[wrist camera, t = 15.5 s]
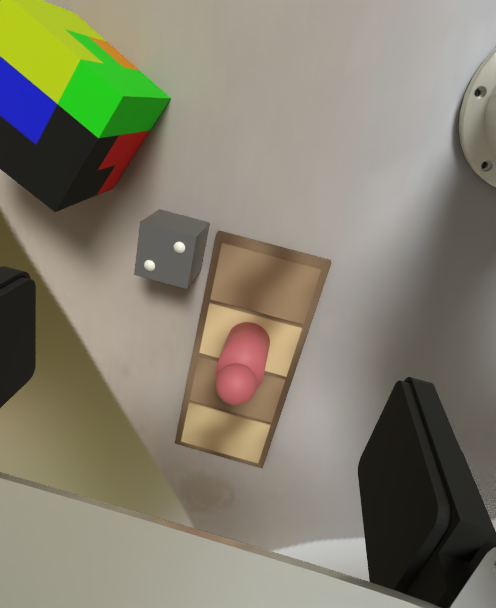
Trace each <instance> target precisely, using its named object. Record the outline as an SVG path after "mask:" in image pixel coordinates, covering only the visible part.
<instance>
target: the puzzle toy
mask: <svg viewBox="0 0 496 608" xmlns="http://www.w3.org/2000/svg"><path fill="white" fill-rule="evenodd" d="M170 99H171V98H170V97H169V96H168V95H167V94H165V93H164V92H163V91H162V90H161V89H160V88H159V87H157V86H156V85H155V84H154V83H153V82H152V81H151V80H150V79H148V78H147V77H146V76H145V75H144V74H143V73H142V72H141V71H139V70H138V69H137V68H136V67H135V66H134V65H133V64H131V63H130V62H129V61H128V60H127V59H126V58H125V57H124V56H122V55H121V54H120V53H119V52H118V51H117V50H116V49H115V48H113V47H112V46H111V45H110V44H109V43H108V42H107V41H105V40H104V39H103V38H102V37H101V36H100V35H99V34H98V33H96V32H95V31H94V30H93V29H92V28H91V27H90V26H89V25H87V24H86V23H85V22H84V21H83V20H82V19H81V18H80V17H78V16H77V15H76V14H75V13H74V12H71V11H69V10H66V9H64V8H61V7H58V6H56V5H53V4H50V3H48V2H45V1H43V0H0V169H1V170H2V171H4V172H5V173H6V174H7V175H9V176H10V177H11V178H12V179H14V180H15V181H16V182H18V183H19V184H20V185H21V186H23V187H24V188H25V189H26V190H28V191H29V192H30V193H32V194H33V195H34V196H35V197H37V198H38V199H39V200H40V201H42V202H43V203H44V204H46V205H47V206H48V207H49V208H51V209H52V210H53V211H54V212H56V211H59V210H61V209H64V208H66V207H69V206H71V205H74V204H76V203H79V202H81V201H83V200H86V199H88V198H91V197H93V196H96V195H98V194H101V193H103V192H106V191H108V190H111V189H113V187H114V186H115V184H116V183H117V181H118V180H119V178H120V177H121V175H122V173H123V172H124V170H125V169H126V167H127V166H128V164H129V163H130V161H131V159H132V158H133V156H134V155H135V153H136V152H137V150H138V149H139V147H140V146H141V144H142V142H143V141H144V139H145V138H146V136H147V135H148V133H149V132H150V130H151V128H152V127H153V125H154V124H155V122H156V121H157V119H158V118H159V116H160V114H161V113H162V111H163V110H164V108H165V107H166V105H167V104H168V102H169V101H170Z"/></svg>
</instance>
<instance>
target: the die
mask: <svg viewBox="0 0 496 608" xmlns="http://www.w3.org/2000/svg"><path fill="white" fill-rule="evenodd" d="M209 225H210V223H209V222H205V221H201V220H198V219H194V218H190V217H186V216H183V215H179V214H175V213H171V212H168V211H164V210H160V209H159V210H158V211H156V212H155V213H153V214H152V215H150V216H149V217H147V218H146V219H144V220H143V221H141V222H140V229H139V238H138V247H137V255H136V264H135V273H134V275H137V276H141V277H144V278H148V279H152V280H155V281H159V282H163V283H166V284H170V285H174V286H177V287H181V288H185V289H188V288H189V286H190V285H191V283H192V282H193V281H194V279H195V278H196V276H197V275H198V274H199V272H200V271H201V267H202V261H203V256H204V251H205V246H206V240H207V235H208V230H209Z"/></svg>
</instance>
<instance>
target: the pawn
mask: <svg viewBox="0 0 496 608" xmlns="http://www.w3.org/2000/svg"><path fill="white" fill-rule="evenodd" d="M269 347H270V338H269V335H268V333H267V332H266V330H265V329H264V328H263V327H261V326H260V325H258V324H255V323H252V322H243V323H239V324H237V325H235V326H234V327H233V328H232V329H231V330H230V332H229V334H228V337H227V340H226V342H225V345H224V347H223V350H222V352H221V355H220V357H219V360H218V363H217V365H216V370H215V373H216V377H217V378H216V391H217V393H218V395H219V397H220V398H221V399H222V400H223V401H224V402H226V403H228V404H230V405H242V404H245V403H246V402H248V401H249V400H250V399H251V398H252V397H253V396H254V394H255V392H256V389H257V388H258V387H259V386H260V385H261V383H262V381H263V376H264V371H265V366H266V362H267V357H268V352H269Z"/></svg>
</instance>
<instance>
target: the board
mask: <svg viewBox="0 0 496 608" xmlns="http://www.w3.org/2000/svg"><path fill="white" fill-rule="evenodd" d="M330 265H331V260H328V259H324V258H320V257H317V256H313V255H309V254H305V253H302V252H298V251H294V250H290V249H287V248H283V247H279V246H275V245H272V244H268V243H264V242H260V241H256V240H253V239H249V238H245V237H241V236H238V235H234V234H230V233H226V232H223V231H218V232H217V234H216V239H215V244H214V249H213V254H212V259H211V264H210V269H209V274H208V279H207V284H206V289H205V294H204V299H203V304H202V309H201V314H200V319H199V325H198V330H197V335H196V340H195V345H194V350H193V355H192V360H191V365H190V370H189V375H188V380H187V385H186V390H185V395H184V400H183V405H182V410H181V415H180V420H179V425H178V430H177V435H176V440H175V443H176V444H179V445H183V446H186V447H190V448H193V449H197V450H200V451H204V452H207V453H211V454H214V455H218V456H221V457H225V458H228V459H232V460H235V461H239V462H242V463H246V464H249V465H253V466H256V467H260V468H263V465H264V462H265V459H266V456H267V453H268V450H269V447H270V444H271V441H272V438H273V435H274V432H275V429H276V426H277V424H278V421H279V418H280V415H281V412H282V409H283V406H284V403H285V400H286V397H287V394H288V391H289V388H290V385H291V382H292V379H293V376H294V373H295V370H296V367H297V364H298V361H299V358H300V355H301V352H302V349H303V346H304V343H305V340H306V337H307V334H308V331H309V328H310V325H311V322H312V319H313V316H314V313H315V310H316V307H317V304H318V301H319V298H320V295H321V292H322V289H323V286H324V283H325V280H326V277H327V274H328V271H329V268H330ZM243 322H252V323H255V324H258V325H260V326H261V327H263V328H264V329H265V330H266V332H267V333H268V335H269V338H270V347H269V352H268V357H267V362H266V366H265V371H264V376H263V381H262V383H261V385H260V386H259V387H258V388H257V389H256V392H255V394H254V396H253V397H252V398H251V399H250V400H249V401H248V402H246V403H245V404H242V405H230V404H228V403H226V402H224V401H223V400H222V399H221V398H220V397H219V395H218V393H217V391H216V378H217V377H216V373H215V370H216V365H217V363H218V360H219V357H220V355H221V352H222V350H223V347H224V345H225V342H226V340H227V337H228V334H229V332H230V330H231V329H232V328H233V327H234V326H235V325H237V324H239V323H243Z"/></svg>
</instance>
